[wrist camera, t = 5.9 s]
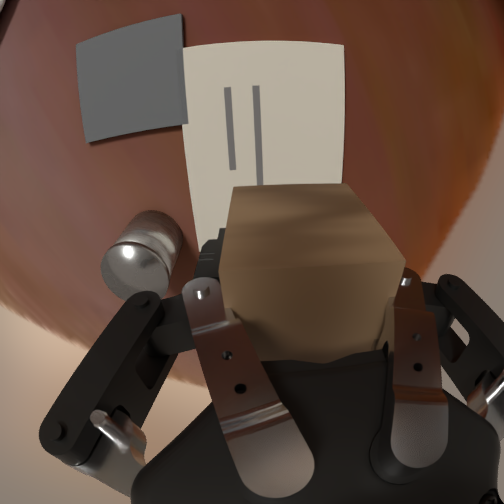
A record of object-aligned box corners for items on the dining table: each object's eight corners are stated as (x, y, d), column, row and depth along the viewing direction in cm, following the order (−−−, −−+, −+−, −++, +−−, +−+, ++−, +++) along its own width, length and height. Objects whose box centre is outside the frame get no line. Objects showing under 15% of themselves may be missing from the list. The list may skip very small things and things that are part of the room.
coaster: (182, 14, 14) (181, 13, 14) (189, 123, 19) (188, 123, 19) (78, 44, 14) (76, 44, 14) (88, 142, 19) (86, 143, 19)
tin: (178, 206, 23) (158, 243, 18) (188, 260, 26) (175, 305, 21) (121, 212, 23) (91, 247, 18) (135, 262, 26) (113, 304, 21)
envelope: (341, 45, 16) (343, 45, 15) (334, 243, 25) (335, 245, 24) (177, 49, 16) (175, 49, 16) (200, 249, 25) (199, 251, 25)
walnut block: (346, 183, 12) (406, 260, 7) (336, 273, 15) (367, 366, 10) (233, 186, 12) (218, 271, 7) (241, 278, 15) (237, 377, 10)
